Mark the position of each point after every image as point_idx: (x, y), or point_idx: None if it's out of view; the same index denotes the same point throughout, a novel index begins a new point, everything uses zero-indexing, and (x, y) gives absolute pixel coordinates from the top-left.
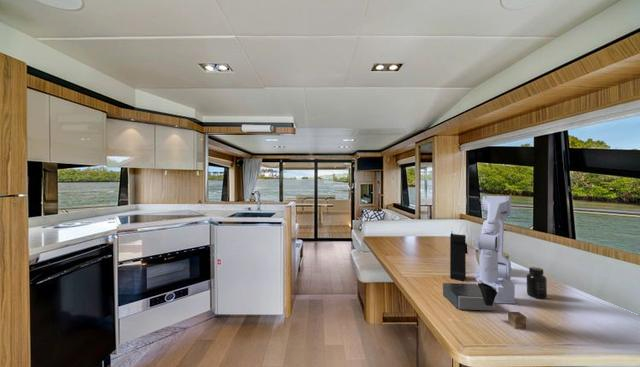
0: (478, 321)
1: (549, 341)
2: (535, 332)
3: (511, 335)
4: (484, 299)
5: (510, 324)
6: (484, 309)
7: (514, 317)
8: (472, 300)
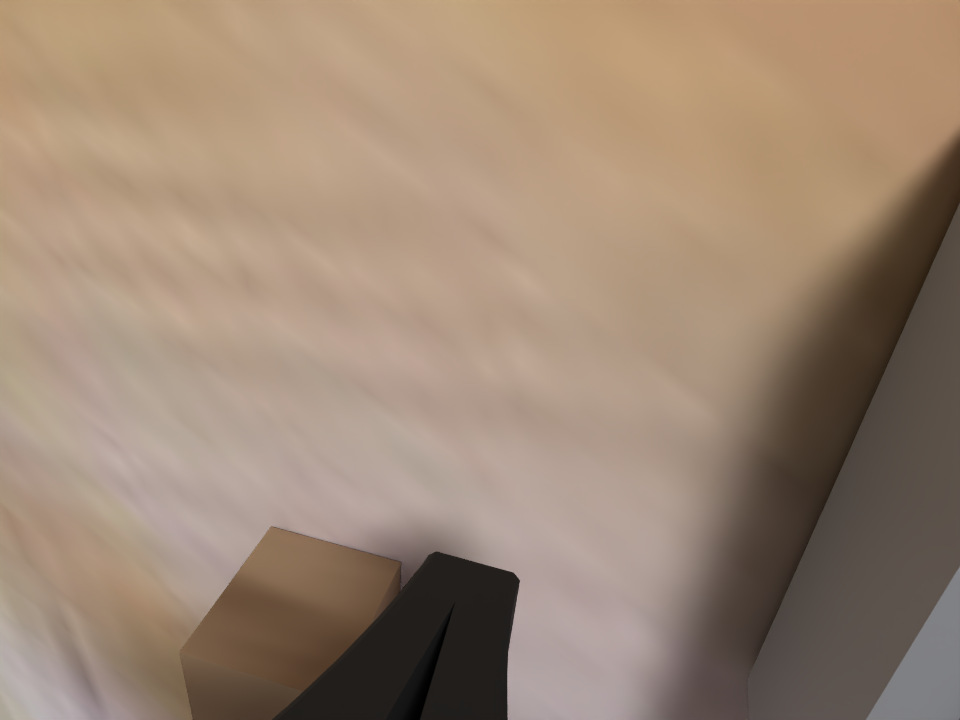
0: (440, 184)
1: (86, 600)
2: None
3: (101, 361)
4: (443, 650)
5: (354, 553)
6: (795, 578)
7: (206, 639)
8: (923, 529)
